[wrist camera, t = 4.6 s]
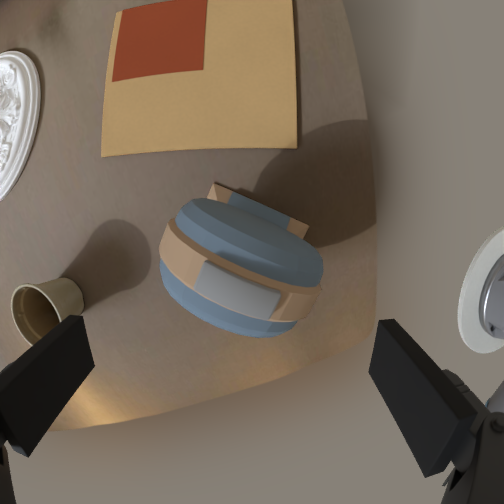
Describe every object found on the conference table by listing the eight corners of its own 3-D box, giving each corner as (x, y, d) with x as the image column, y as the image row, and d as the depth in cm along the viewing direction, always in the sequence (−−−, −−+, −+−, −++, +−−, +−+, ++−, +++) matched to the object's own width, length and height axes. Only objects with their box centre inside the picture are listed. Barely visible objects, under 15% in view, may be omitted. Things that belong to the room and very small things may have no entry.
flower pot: (48, 255, 37) (11, 272, 28) (98, 280, 37) (66, 303, 29) (42, 309, 39) (11, 332, 30) (89, 335, 39) (61, 364, 31)
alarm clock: (175, 254, 36) (115, 312, 19) (205, 179, 34) (160, 176, 17) (281, 299, 38) (301, 387, 20) (316, 229, 36) (370, 270, 18)
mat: (291, -2, 29) (291, -5, 28) (296, 149, 34) (297, 148, 33) (118, 13, 29) (116, 11, 28) (103, 157, 34) (100, 157, 33)
